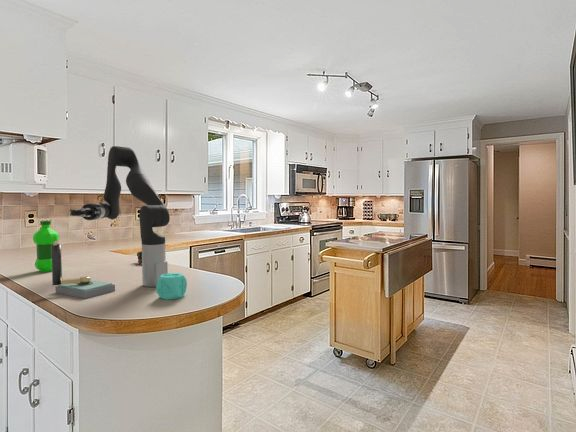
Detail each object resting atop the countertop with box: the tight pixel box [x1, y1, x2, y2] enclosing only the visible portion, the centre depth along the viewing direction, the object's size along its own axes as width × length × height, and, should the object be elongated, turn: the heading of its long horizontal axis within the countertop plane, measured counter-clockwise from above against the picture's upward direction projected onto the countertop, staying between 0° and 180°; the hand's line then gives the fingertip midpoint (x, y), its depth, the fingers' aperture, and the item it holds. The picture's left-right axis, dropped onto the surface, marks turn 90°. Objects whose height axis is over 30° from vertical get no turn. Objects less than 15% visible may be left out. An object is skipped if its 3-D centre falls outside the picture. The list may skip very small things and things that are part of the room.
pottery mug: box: [136, 250, 142, 265], centre depth 193 cm, size 12×10×8 cm
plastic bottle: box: [32, 220, 60, 273], centre depth 172 cm, size 10×10×25 cm
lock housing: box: [54, 279, 116, 299], centre depth 133 cm, size 18×12×3 cm, turn 63°
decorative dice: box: [155, 272, 188, 301], centre depth 127 cm, size 8×8×8 cm
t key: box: [51, 240, 92, 286], centre depth 131 cm, size 12×6×16 cm, turn 118°
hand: (74, 213), depth 143 cm, fingers closed
